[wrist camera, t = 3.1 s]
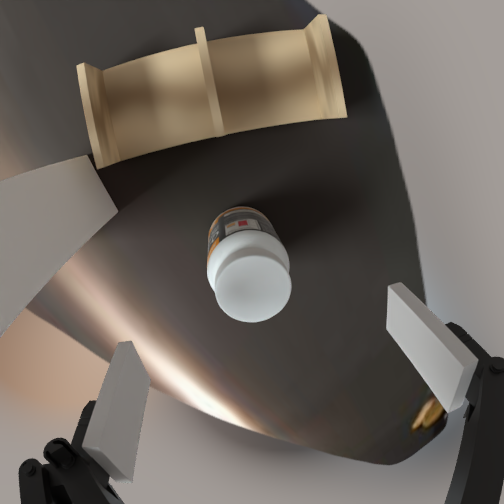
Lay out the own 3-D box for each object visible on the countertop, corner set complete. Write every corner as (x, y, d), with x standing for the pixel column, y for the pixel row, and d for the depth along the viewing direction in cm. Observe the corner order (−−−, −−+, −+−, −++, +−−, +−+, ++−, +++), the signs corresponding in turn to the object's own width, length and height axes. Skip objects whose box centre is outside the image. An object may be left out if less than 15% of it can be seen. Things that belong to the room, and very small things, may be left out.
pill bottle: (201, 214, 27) (193, 259, 18) (266, 198, 27) (291, 235, 18) (217, 272, 29) (219, 338, 20) (278, 257, 29) (305, 316, 20)
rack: (100, 75, 21) (76, 65, 17) (306, 32, 22) (326, 14, 17) (118, 161, 24) (96, 169, 20) (323, 118, 25) (347, 117, 20)
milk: (72, 241, 27) (-74, 413, 6) (41, 188, 24) (-145, 306, 4) (120, 210, 26) (-39, 397, 6) (88, 152, 24) (-133, 242, 3)
